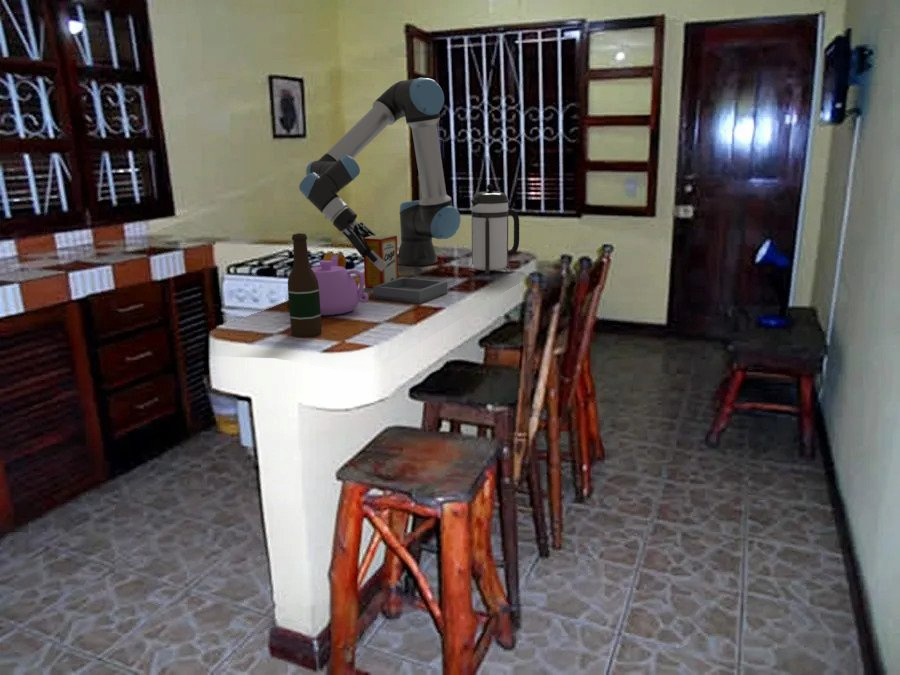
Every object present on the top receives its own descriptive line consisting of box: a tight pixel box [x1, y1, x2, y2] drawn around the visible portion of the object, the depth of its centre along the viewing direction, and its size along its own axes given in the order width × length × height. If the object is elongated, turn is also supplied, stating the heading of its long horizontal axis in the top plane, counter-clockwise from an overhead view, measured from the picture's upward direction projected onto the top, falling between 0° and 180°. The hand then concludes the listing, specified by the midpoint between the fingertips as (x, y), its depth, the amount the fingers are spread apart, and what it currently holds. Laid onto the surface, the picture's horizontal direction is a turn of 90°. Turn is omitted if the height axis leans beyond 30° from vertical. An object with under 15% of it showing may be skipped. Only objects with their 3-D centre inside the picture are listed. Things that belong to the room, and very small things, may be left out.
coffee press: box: [468, 183, 520, 276], centre depth 240 cm, size 17×16×30 cm
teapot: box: [287, 255, 369, 316], centre depth 191 cm, size 22×22×14 cm
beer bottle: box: [287, 232, 323, 338], centre depth 165 cm, size 8×8×24 cm
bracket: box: [322, 252, 359, 288], centre depth 212 cm, size 11×7×12 cm, turn 153°
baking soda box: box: [363, 234, 400, 290], centre depth 220 cm, size 10×6×16 cm
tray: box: [372, 276, 448, 305], centre depth 208 cm, size 16×16×4 cm
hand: (389, 265), depth 220 cm, fingers closed on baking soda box, 11 cm apart
